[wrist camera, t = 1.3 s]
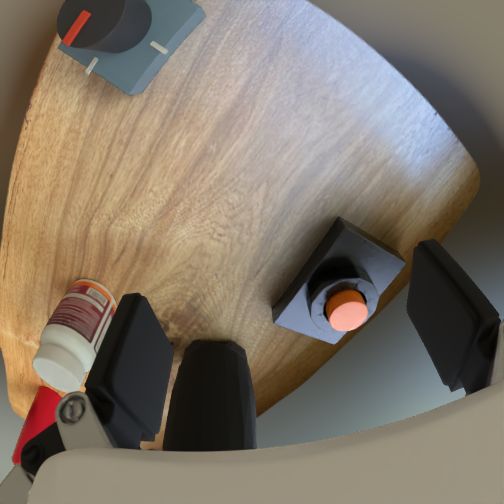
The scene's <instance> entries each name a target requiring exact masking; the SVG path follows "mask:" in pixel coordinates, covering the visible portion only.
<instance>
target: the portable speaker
mask: <svg viewBox="0 0 504 504" xmlns="http://www.w3.org/2000/svg"><path fill="white" fill-rule="evenodd" d="M250 449H257V444H256V403H255V396H254V390H253V384H252V379H251V374H250V369H249V366H248V363H247V357H246V353H245V350H244V349H243V348H242V347H240V346H239V345H237V344H236V343H235V342H230V343H227V344H213V343H202V342H201V341H200V340H196V341H193V342H192V343H191V344H190V345H189V346H188V347H187V348H186V349H185V353H184V357H183V360H182V362H181V365H180V366H179V369H178V373H177V377H176V380H175V383H174V387H173V390H172V394H171V400H170V405H169V411H168V416H167V422H166V428H165V434H164V440H163V450H162V451H176V452H214V451H236V450H250Z"/></svg>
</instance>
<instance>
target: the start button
mask: <svg viewBox="0 0 504 504" xmlns="http://www.w3.org/2000/svg"><path fill="white" fill-rule="evenodd" d="M326 313H327V316H328V319H329V323H330V325H331V327H332V328H334V329H335V330H338V331H349V330H353V329H355V328H357V327H358V326H360V325H361V324H362V323H363V322H364V321H365V320H366V318H367V315H368V309H367V306H366V304H365V302H364V300H363V298H362V296H361V294H360V293H359V292H358V291H356V290H352V289H347V290H341V291H339V292H337V293H335V294H333V295H332V296H331V297H330V298H329V300H328V301H327V303H326Z"/></svg>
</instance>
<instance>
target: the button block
mask: <svg viewBox="0 0 504 504" xmlns="http://www.w3.org/2000/svg"><path fill="white" fill-rule="evenodd" d="M405 265H406V262H405V260H404V259H403V258H402V256H401V255H400V254H399V253H398V251H396V250H394V249H393V248H391V247H390V246H388V245H386V244H385V243H383V242H382V241H380V240H378V239H377V238H375V237H373V236H372V235H370V234H368V233H367V232H365V231H363V230H362V229H360V228H358V227H356V226H355V225H353V224H351V223H350V222H348V221H346V220H344V219H343V218H341V217H338V218H337V219H336V221H335V222H334V224H333V225H332V227H331V228H330V230H329V231H328V232H327V234H326V235H325V237H324V238H323V240H322V241H321V242H320V244H319V245H318V247H317V248H316V249H315V251H314V252H313V254H312V255H311V256H310V258H309V259H308V261H307V262H306V263H305V265H304V266H303V268H302V269H301V270H300V272H299V273H298V274H297V276H296V277H295V279H294V280H293V281H292V283H291V284H290V285H289V287H288V288H287V289H286V291H285V292H284V293H283V295H282V296H281V297H280V299H279V300H278V301H277V303H276V304H275V305H274V307H273V308H272V317H273V323H274V324H276V325H279V326H282V327H285V328H287V329H290V330H293V331H296V332H299V333H302V334H305V335H308V336H311V337H314V338H317V339H320V340H323V341H326V342H329V343H332V344H336V343H337V342H338V341H339V340H340V339H341V338H342V336H343V335H344V334H345V333H346V332H347V331H338V330H335V329H334V328H332V327H331V325H330V323H329V319H328V316H327V313H326V303H327V301H328V300H329V298H330V297H331V296H332V295H333V294H335V293H337V292H339V291H341V290H347V289H352V290H356V291H358V292H359V293H360V294H361V296H362V298H363V300H364V302H365V304H366V306H367V309H368V315H367V318H366V320H365V321H364V322H363V323H365V322H366V321H367V320H368V318H369V317H370V316H371V315H372V314H373V313H374V312H375V310H376V307H377V303H378V300H379V296H380V295H381V294H382V292H383V291H384V290H385V289H386V288H387V287H388V285H389V284H390V283H391V282H392V281H393V279H394V278H395V277H396V276H397V275H398V273H399V272H400V271H401V270H402V268H403V267H404V266H405ZM363 323H362V324H363Z"/></svg>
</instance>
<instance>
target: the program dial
mask: <svg viewBox="0 0 504 504" xmlns="http://www.w3.org/2000/svg"><path fill="white" fill-rule="evenodd" d="M151 22H152V12H151V9H150V7H149V5H148V4H147V3H146V2H145V1H144V0H65V2H64V3H63V5H62V8H61V9H60V12H59V15H58V20H57V30H58V34H59V36H60V38H61V40H62V43H64V44H65V45H67V46H70V47H73V48H80V49H88V50H95V51H102V52H108V53H121V52H125V51H127V50H129V49H131V48H133V47H135V46H136V45H137V44H139V43H140V42H141V41H142V40H143V38H144V37H145V36H146V34H147V33H148V31H149V29H150V26H151Z"/></svg>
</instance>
